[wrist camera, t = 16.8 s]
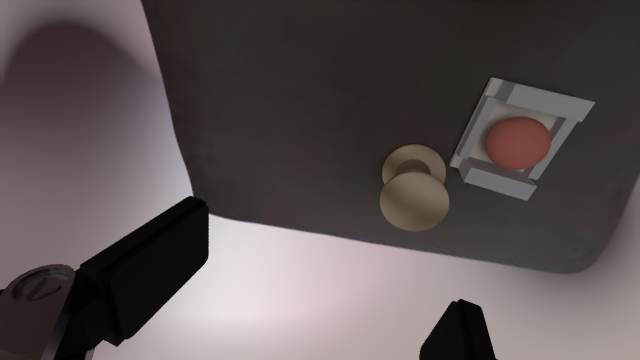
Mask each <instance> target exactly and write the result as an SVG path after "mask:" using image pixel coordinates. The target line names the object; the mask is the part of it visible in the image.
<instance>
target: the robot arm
mask: <svg viewBox="0 0 640 360" xmlns="http://www.w3.org/2000/svg"><path fill="white" fill-rule="evenodd" d="M208 215H209V209H208V206H206V202H205V201H203V200H201V199H198V198H196V197H193V196H189V197H187V198H185V199H183V200H182V201H180V202H179V203H177V204H176V205H174V206H172V207H171V208H169V209H168V210H166V211H165V212H163V213H161V214H160V215H158V216H157V217H155V218H153V219H152V220H150V221H149V222H147V223H146V224H144V225H142V226H141V227H139V228H138V229H136V230H134V231H133V232H131V233H130V234H128V235H127V236H125V237H123V238H122V239H120V240H119V241H117V242H116V243H114V244H113V245H111V246H109V247H108V248H106V249H104V250H103V251H101V252H100V253H98V254H97V255H95V256H93V257H92V258H90V259H89V260H87V261H86V262H84V263H82V264H81V265H80V268H79V269H77V270H76V271H74V269H73V268H71V267H70V266H67V265H63V264H51V265H46V266H41V267H38V268H35V269H32V270H30V271H28V272H26V273H24V274H22V275H20V276H19V277H17V278H16V279H14V280H13V281H12V282H11V283H10V284H9V285H8V286H7V287H6V288H5V289H2V290H0V360H92V357H93V353H94V350H95V347H96V346H97V345H98V344H99V343H100V342H101V341H102V340H105V341H107V342H109V343H111V344H113V345H114V346H116V347H117V346H118V345H120V344H121V343H122V342H123V341H124V340H125V339H129V338H131V337H132V336H134V335H135V334H136V333H137V332H138V331H139V330H140V329H141V327H143V325H145V324H146V323H147V321H149V319H151V318H152V317H153V315H154V314H155V313H156V312H157V311H158V310H159V309H160V308H161V307H162V306H163V305H164V304H165V303H166V302H167V301H168V300H169V299H170V298H171V297H172V296H173V295H174V294H175V293H176V292H177V291H178V290H179V289H180V288H181V287H182V286H183V285H184V284H185V283H186V282H187V281H188V280H189V279H190V278H191V277H192V276H193V275H194V274H195V273H196V272H197V271H198V270H199V269H200V268H201V267H202V266H203V265H204V264H205V263H206V261H207V259H208V255H209V252H208V251H209V250H208V247H209V244H208V243H209V241H208V240H209V239H208V237H209V234H208V233H209V231H208V230H209V216H208ZM419 359H420V360H497V359H496V358H495V355H494V351H493V347H492V344H491V340H490V336H489V333H488V329H487V326H486V322H485V318H484V315H483V311H482V309H481V307H480V306H478V305H476V304H473V303H471V302H468V301H465V300H463V299H460V300H458V301H457V302H455V301H452V302H451V303H450V305H449V306H448V308H447V310H446V311H445V313H444V314H443V315H442V317H441V318H440V320H439V321H438V323H437V324H436V326H435V327H434V329H433V330H432V332H431V333H430V335H429V336H428V338H427V339H426V340H425V342H424V343H423V345H422V347H421V350H420V356H419Z"/></svg>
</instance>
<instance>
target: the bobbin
mask: <svg viewBox="0 0 640 360" xmlns="http://www.w3.org/2000/svg"><path fill="white" fill-rule="evenodd" d="M382 177H383V182H384V184H385V185H384V187H383V189H382V192H381V196H380V207H381V210H382V213H383V215H384V216H385V218H386V219H387V220H388V221H389V222H390V223H392V224H393V225H394V226H396V227H398V228H401V229H403V230H407V231H424V230H428V229H430V228H433V227H435V226H436V225H438V224H439V223H440V222H441V221H442V220H443V219H444V218H445V216H446V215H447V212H448V209H449V197H448V193H447V191H446V188H445V187H444V185H443V184H444V182H445V178H446V169H445V165H444V162H443V160H442V158H441V156H440V155H439V154H438V153H437V152H436V151H435V150H433V149H432V148H430V147H427V146H425V145H420V144H409V145H404V146H401V147H399V148H397V149H396V150H394V151H393V152H392V153H391V154H390V155H389V156H388V157H387V159H386V160H385V163H384V166H383V170H382Z"/></svg>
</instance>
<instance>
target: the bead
mask: <svg viewBox="0 0 640 360" xmlns="http://www.w3.org/2000/svg"><path fill="white" fill-rule="evenodd" d="M550 147H551V135H550V133H549V131H548V129H547V128H546V126H545V125H543V124H542V123H541V122H539V121H538V120H536V119H533V118H529V117H513V118H509V119H506V120H504V121H502V122H500V123H498V124H497V125H496V126H495V127H494V128H493V129H492V130H491V131H490V132H489V134H488V136H487V139H486V143H485V148H486V152H487V155H488V157H489V158H490V159H491V161H492V162H494V163H495V164H496V165H498V166H500V167H502V168H505V169H509V170H522V169H527V168H530V167H532V166H534V165H536V164H538V163H539V162H541V161H542V160H543V159H544V158H545V157H546V155H547V154H548V152H549V150H550Z"/></svg>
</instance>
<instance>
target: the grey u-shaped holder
mask: <svg viewBox="0 0 640 360" xmlns="http://www.w3.org/2000/svg"><path fill="white" fill-rule="evenodd" d="M594 104H595V102H592V101H588V100H584V99H581V98H577V97H573V96H569V95H564V94H560V93H556V92H552V91H547V90H543V89H539V88H535V87H530V86H526V85H522V84H518V83H513V82H509V81H505V80H501V79H497V78H492V77H491V78H490V80H489V82H488V84H487V86H486V88H485V90H484V92H483V94H482V96H481V98H480V101H479V103H478V105H477V107H476V109H475V111H474V113H473V115H472V117H471V119H470V121H469V123H468V125H467V127H466V129H465V132H464V134H463V136H462V138H461V140H460V142H459V144H458V146H457V148H456V150H455V152H454V154H453V156H452V158H451V160H450V162H449V164H450V166H452V167H456V168H458V169H459V171H460V174H461V176H462V178H463V181H464V182H467V183H470V184H473V185H477V186H480V187H483V188H487V189H490V190H493V191H496V192H500V193H503V194H506V195H509V196H513V197H516V198H519V199H522V200H526V201H527V200H528V199H529V197H530V196H531V194H532V193H533V192H534V190H535V189H536V187H537V186H536V185H535V184H534V183H533V182H532V181H531V180H530V178H532V179H536V180H538V178H539V177H540V175H541V174H542V173H543V171H544V170H545V168H546V167H547V165H548V164H549V162H550V161H551V159H552V158H553V156H554V155H555V154H556V152H557V151H558V149H559V148H560V146H561V145H562V143H563V142H564V140H565V139H566V137H567V136H568V135H569V133H570V132H571V130H572V129H573V127H574V126H575V124H576V123H577V121H580V122H582V121H583V119H584V118H585V117H586V115H587V114H588V112H589V111H590V109H591V108H592V106H593V105H594ZM513 117H529V118H533V119H536V120H538V121H539V122H541V123H542V124H543V125H545V126H546V128H547V129H548V131H549V133H550V135H551V147H550V150H549V152H548V154H547V155H546V157H545V158H544V159H543V160H542V161H541V162H539V163H538V164H536V165H534V166H532V167H530V168H527V169H522V170H509V169H505V168H502V167H500V166H498V165H496V164H495V163H494V162H492V161H491V159H490V158H489V157H488V155H487V152H486V148H485V143H486V139H487V136H488V134H489V132H490V131H491V130H492V129H493V128H494V127H495V126H496V125H497V124H498V123H500V122H502V121H504V120H506V119H509V118H513Z"/></svg>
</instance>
